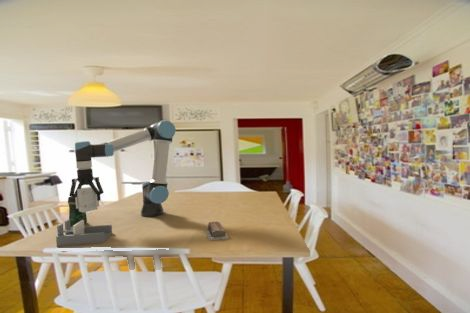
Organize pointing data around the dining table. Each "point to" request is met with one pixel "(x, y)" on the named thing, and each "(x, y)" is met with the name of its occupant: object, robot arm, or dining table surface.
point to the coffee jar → (75, 213)
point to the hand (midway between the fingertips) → (87, 207)
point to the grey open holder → (77, 228)
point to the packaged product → (215, 231)
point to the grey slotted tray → (82, 235)
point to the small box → (86, 199)
